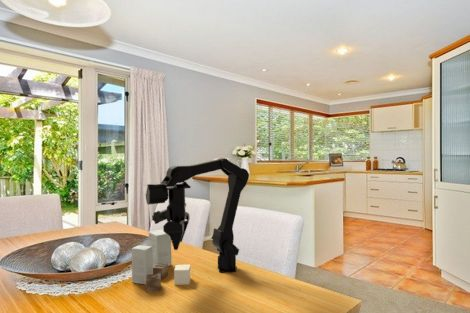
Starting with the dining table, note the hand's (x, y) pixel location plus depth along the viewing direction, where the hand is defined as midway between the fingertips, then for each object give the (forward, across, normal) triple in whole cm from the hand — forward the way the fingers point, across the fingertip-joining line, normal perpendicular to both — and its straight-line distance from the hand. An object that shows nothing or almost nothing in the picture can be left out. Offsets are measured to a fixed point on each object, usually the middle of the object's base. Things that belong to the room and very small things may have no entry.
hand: (178, 245), depth 107 cm
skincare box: (+12, +1, -12) cm, 17 cm away
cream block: (+12, +2, +2) cm, 12 cm away
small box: (+12, -15, -10) cm, 22 cm away
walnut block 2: (+12, +7, -7) cm, 16 cm away
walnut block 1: (+12, -3, -8) cm, 15 cm away
